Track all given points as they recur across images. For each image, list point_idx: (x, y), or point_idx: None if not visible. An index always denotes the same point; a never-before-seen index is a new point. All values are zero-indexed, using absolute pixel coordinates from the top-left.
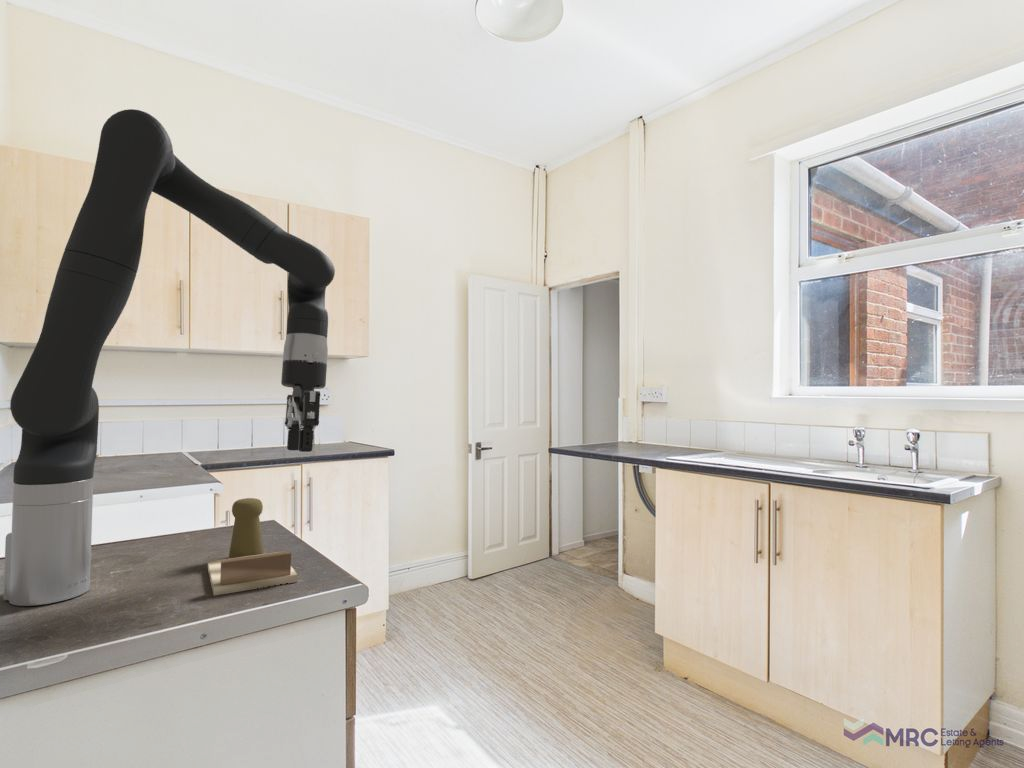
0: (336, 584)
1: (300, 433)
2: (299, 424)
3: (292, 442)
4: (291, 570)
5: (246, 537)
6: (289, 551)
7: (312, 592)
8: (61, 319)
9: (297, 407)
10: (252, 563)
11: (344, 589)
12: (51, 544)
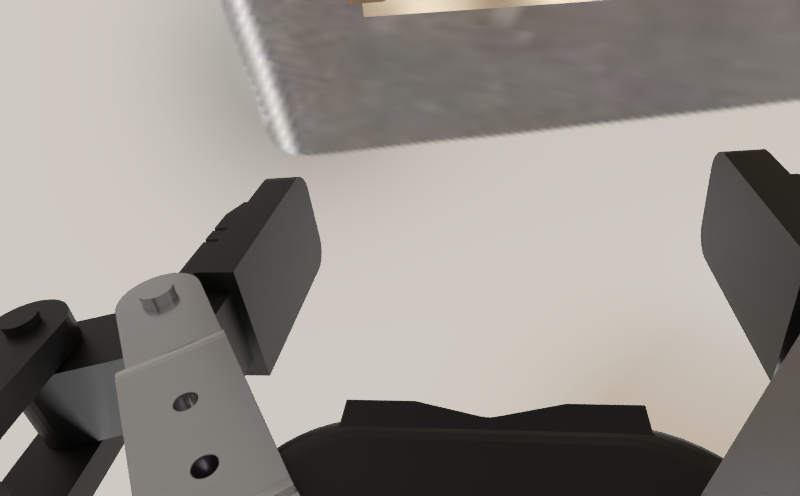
0: (312, 112)
1: (213, 254)
2: (146, 295)
3: (738, 219)
4: (414, 4)
5: None
6: (374, 1)
7: (271, 41)
8: None
9: (133, 481)
10: None
11: (269, 121)
12: None
